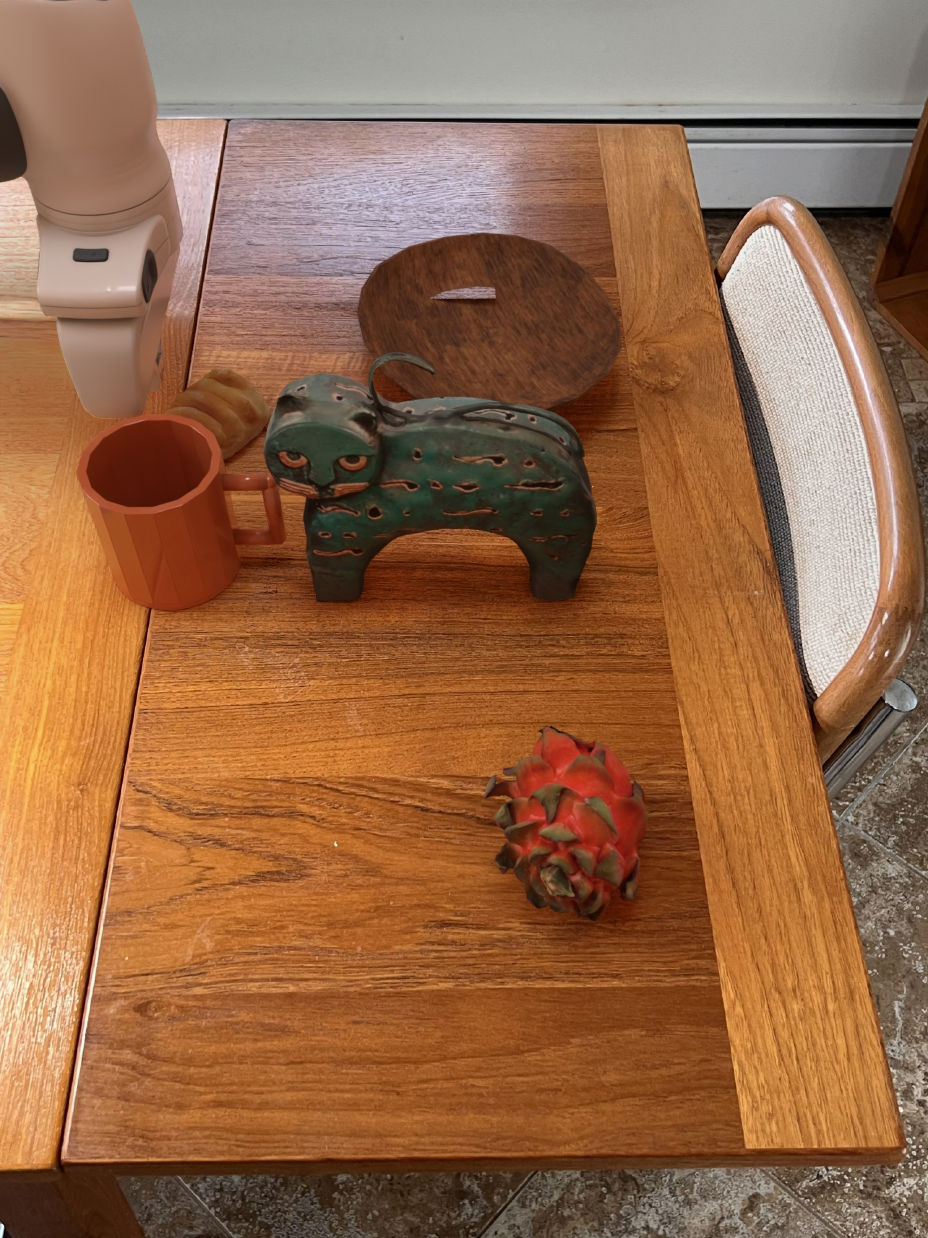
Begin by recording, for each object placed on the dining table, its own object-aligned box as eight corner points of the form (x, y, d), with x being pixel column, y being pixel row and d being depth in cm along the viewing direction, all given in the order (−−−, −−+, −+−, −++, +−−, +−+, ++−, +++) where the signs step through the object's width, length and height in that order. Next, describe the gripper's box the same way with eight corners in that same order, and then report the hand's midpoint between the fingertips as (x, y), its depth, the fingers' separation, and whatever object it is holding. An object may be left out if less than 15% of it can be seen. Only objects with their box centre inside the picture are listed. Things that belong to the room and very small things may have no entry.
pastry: (203, 496, 83) (193, 458, 80) (130, 462, 85) (118, 424, 82) (279, 419, 88) (273, 380, 85) (209, 389, 90) (200, 350, 87)
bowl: (407, 488, 84) (405, 438, 80) (332, 307, 96) (327, 255, 92) (655, 431, 88) (665, 381, 84) (552, 264, 100) (556, 213, 96)
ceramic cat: (288, 615, 77) (247, 384, 61) (298, 542, 81) (261, 307, 65) (587, 619, 77) (623, 390, 61) (581, 546, 81) (615, 312, 65)
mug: (102, 611, 77) (65, 514, 69) (123, 513, 82) (90, 413, 74) (285, 609, 77) (268, 512, 69) (294, 512, 82) (279, 412, 75)
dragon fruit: (564, 973, 64) (538, 798, 72) (700, 916, 61) (655, 740, 69) (474, 912, 59) (458, 731, 67) (617, 846, 55) (580, 665, 64)
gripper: (91, 129, 81) (132, 292, 92) (29, 313, 69) (85, 475, 80) (180, 130, 82) (211, 292, 93) (135, 313, 69) (176, 475, 80)
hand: (152, 379), depth 86 cm, fingers closed
